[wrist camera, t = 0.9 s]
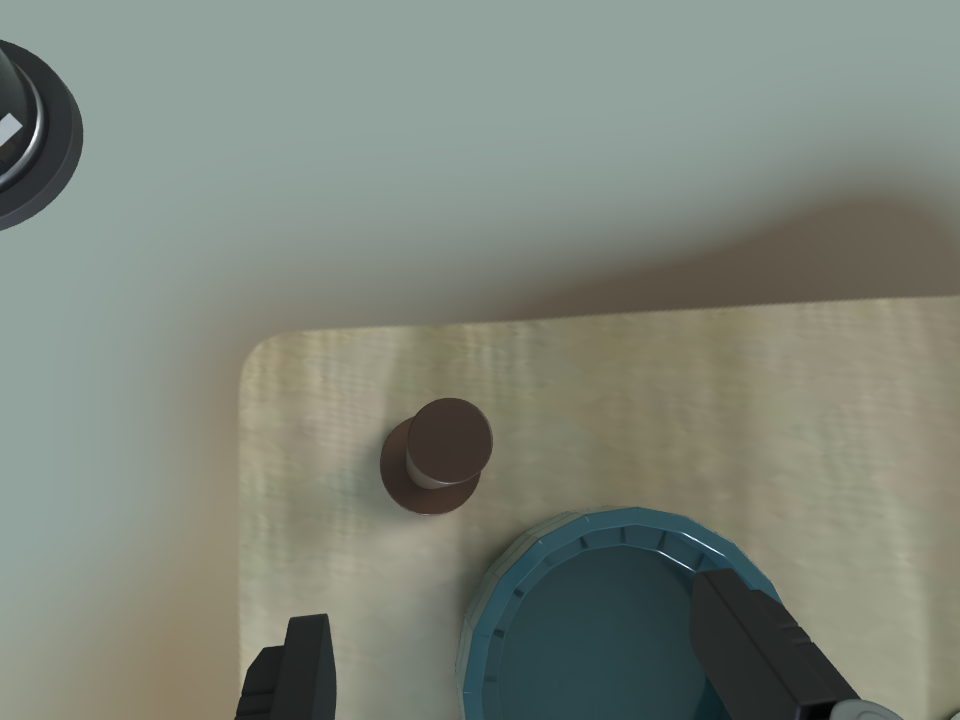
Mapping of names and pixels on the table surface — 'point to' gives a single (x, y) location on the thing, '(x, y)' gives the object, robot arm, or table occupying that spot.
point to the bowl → (594, 620)
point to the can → (956, 717)
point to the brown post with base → (436, 457)
